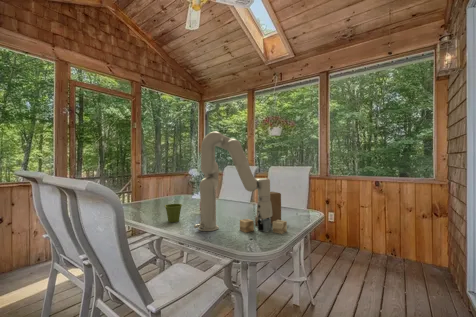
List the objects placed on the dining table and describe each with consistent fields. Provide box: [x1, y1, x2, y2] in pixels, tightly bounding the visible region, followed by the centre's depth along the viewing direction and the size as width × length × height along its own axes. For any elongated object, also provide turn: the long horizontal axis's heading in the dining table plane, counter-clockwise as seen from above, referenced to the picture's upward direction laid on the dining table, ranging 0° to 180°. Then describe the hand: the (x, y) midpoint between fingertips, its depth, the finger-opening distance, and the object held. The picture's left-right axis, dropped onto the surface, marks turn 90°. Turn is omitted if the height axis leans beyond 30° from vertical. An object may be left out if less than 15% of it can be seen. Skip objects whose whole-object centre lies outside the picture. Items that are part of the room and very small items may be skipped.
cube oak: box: [239, 218, 255, 233], centre depth 140 cm, size 6×6×6 cm
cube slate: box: [258, 219, 272, 233], centre depth 141 cm, size 6×6×6 cm
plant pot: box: [164, 203, 183, 223], centre depth 163 cm, size 12×12×11 cm
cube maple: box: [272, 219, 288, 235], centre depth 137 cm, size 6×6×6 cm
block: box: [270, 191, 282, 225], centre depth 158 cm, size 10×10×20 cm
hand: (264, 228), depth 141 cm, fingers closed on cube slate, 6 cm apart
